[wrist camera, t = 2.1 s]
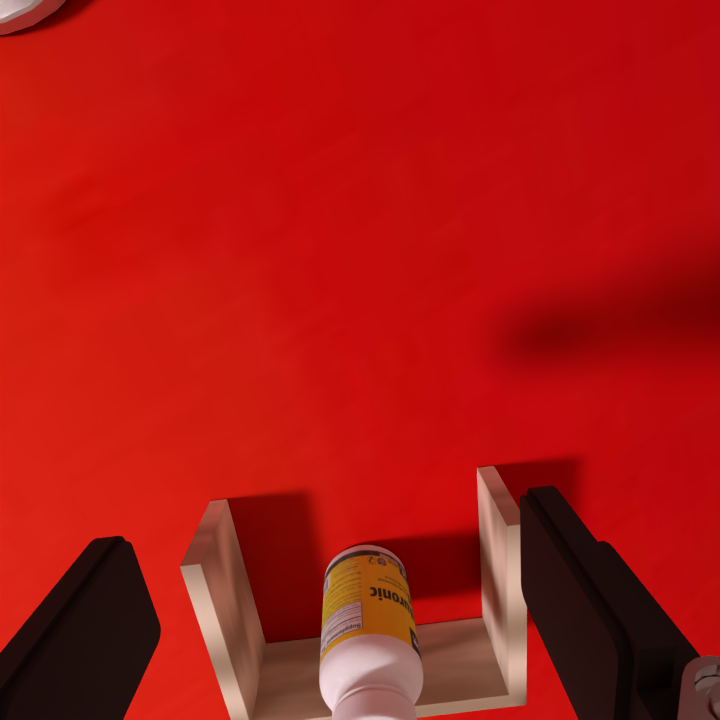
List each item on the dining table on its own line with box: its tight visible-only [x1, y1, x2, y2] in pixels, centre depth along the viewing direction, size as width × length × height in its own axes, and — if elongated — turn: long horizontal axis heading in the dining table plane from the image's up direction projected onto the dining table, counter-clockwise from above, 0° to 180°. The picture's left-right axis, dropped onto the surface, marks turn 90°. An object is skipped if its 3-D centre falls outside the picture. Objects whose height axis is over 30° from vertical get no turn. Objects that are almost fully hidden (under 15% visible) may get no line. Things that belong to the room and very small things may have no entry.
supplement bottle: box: [319, 545, 423, 720], centre depth 23 cm, size 5×5×10 cm
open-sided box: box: [180, 466, 527, 720], centre depth 25 cm, size 13×17×5 cm
